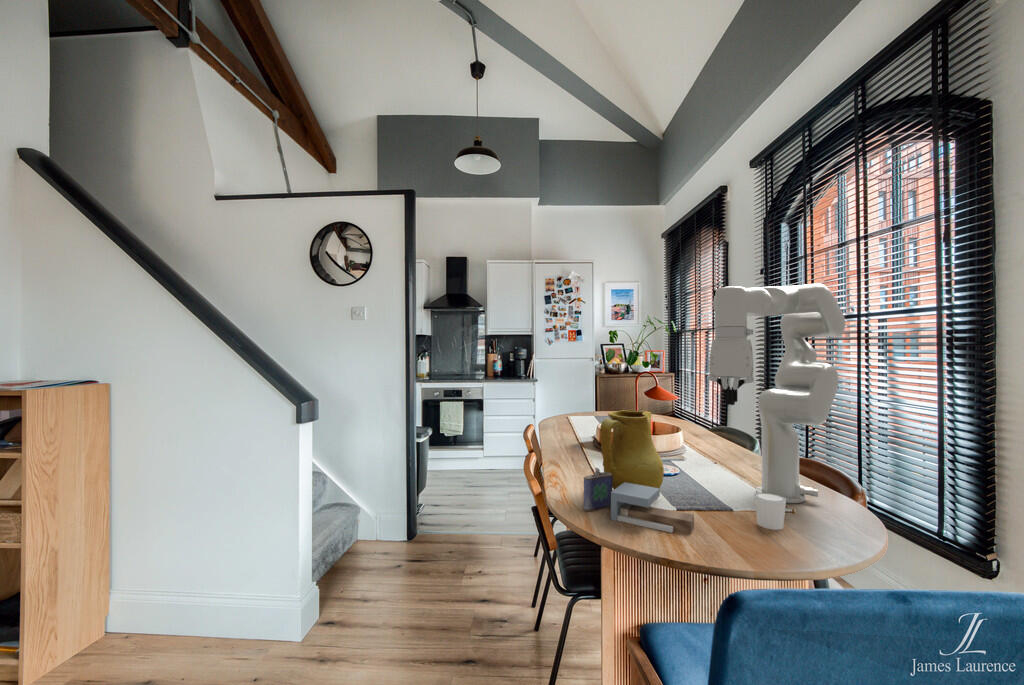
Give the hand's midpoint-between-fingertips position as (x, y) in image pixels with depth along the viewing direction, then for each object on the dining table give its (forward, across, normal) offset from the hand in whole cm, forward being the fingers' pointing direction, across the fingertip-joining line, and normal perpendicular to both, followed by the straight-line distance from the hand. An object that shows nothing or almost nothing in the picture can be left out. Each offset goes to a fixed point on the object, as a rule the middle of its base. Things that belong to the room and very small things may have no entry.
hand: (730, 404), depth 117 cm
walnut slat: (+29, +15, +16) cm, 36 cm away
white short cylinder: (+29, -9, +1) cm, 31 cm away
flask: (+29, +31, +14) cm, 45 cm away
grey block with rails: (+29, +18, +15) cm, 37 cm away
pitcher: (+29, +27, -1) cm, 40 cm away
